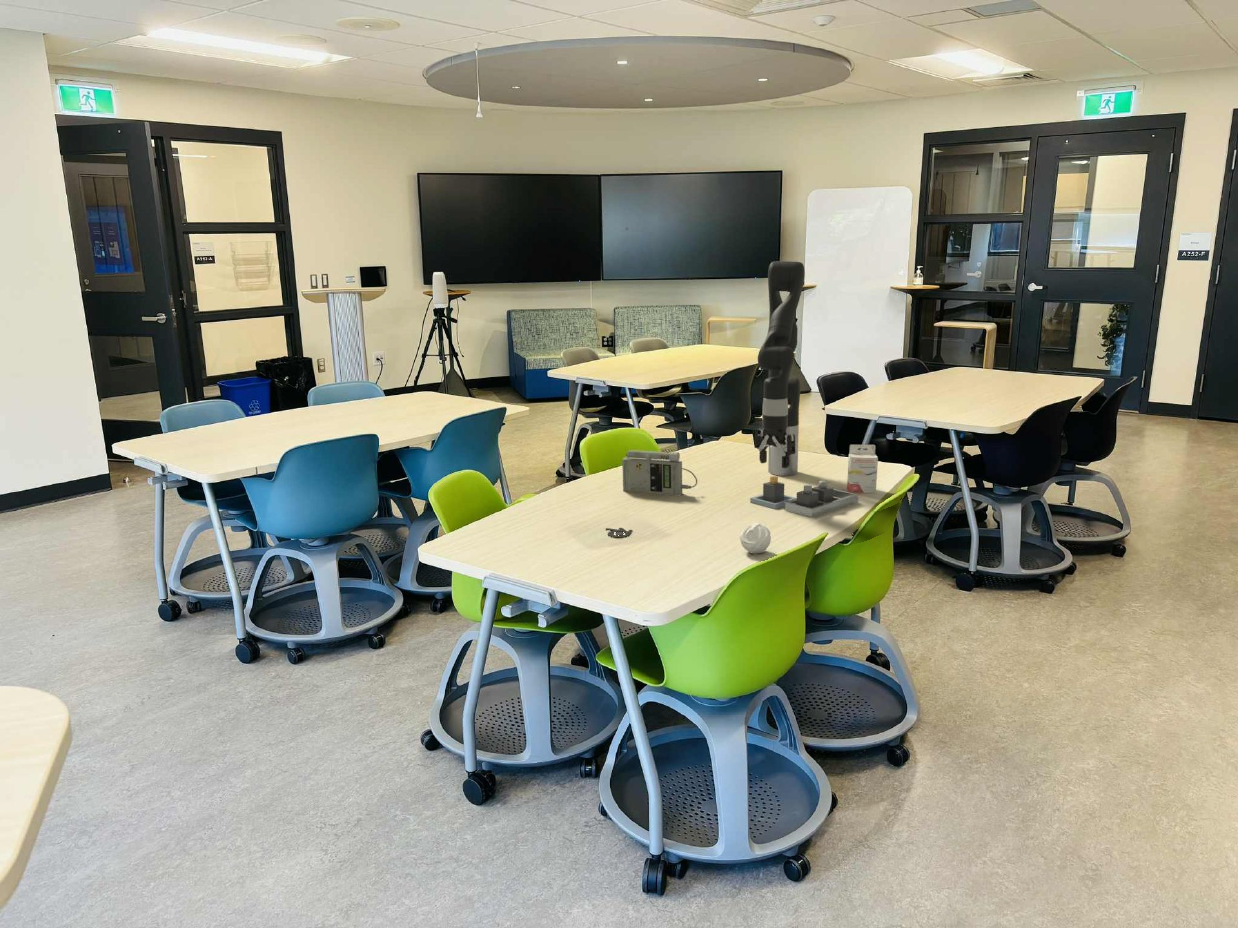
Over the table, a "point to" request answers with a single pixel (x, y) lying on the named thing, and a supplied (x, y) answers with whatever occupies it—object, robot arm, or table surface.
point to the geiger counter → (653, 473)
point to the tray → (760, 501)
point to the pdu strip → (823, 504)
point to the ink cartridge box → (862, 469)
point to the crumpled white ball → (755, 538)
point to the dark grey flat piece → (618, 533)
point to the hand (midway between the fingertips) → (774, 465)
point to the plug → (773, 490)
